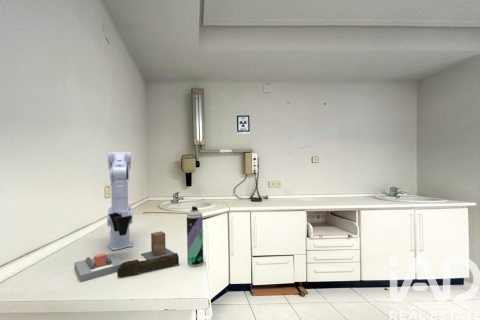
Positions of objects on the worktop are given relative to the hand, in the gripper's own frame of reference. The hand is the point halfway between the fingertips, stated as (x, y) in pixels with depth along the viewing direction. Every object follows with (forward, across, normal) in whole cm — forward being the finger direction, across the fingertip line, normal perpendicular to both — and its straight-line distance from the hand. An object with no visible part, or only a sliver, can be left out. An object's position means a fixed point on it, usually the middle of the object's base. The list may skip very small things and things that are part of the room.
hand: (120, 233), depth 90 cm
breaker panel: (+9, -6, +8) cm, 14 cm away
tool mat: (+9, -8, -12) cm, 17 cm away
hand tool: (+10, -20, -4) cm, 23 cm away
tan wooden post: (+9, -8, -12) cm, 17 cm away
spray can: (+10, -26, -18) cm, 33 cm away
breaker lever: (+7, -8, +8) cm, 14 cm away
